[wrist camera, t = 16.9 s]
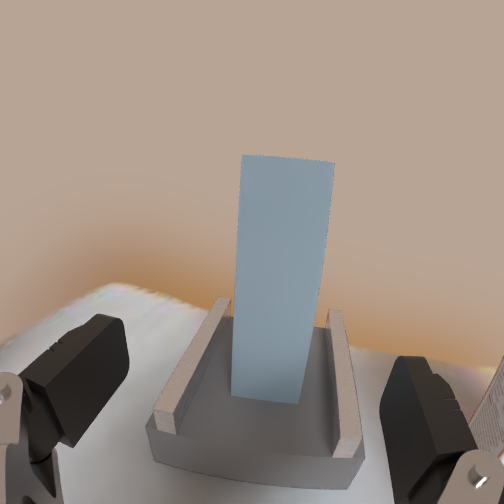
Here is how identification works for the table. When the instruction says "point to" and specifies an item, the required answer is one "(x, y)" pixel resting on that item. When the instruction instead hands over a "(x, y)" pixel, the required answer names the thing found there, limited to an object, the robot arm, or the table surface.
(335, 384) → the stand
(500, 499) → the robot arm
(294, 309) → the light blue rectangular block
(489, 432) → the cracker box
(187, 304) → the table surface
